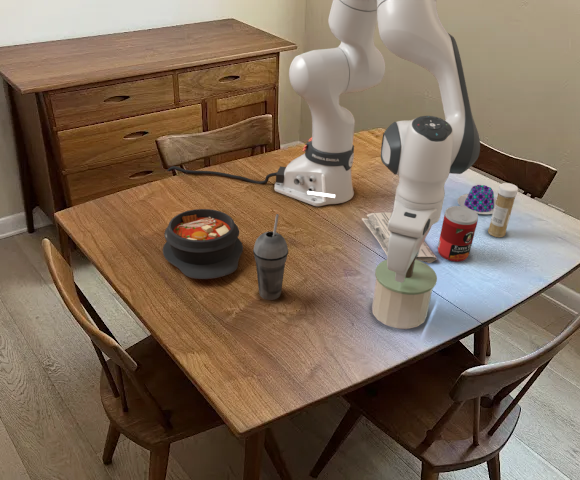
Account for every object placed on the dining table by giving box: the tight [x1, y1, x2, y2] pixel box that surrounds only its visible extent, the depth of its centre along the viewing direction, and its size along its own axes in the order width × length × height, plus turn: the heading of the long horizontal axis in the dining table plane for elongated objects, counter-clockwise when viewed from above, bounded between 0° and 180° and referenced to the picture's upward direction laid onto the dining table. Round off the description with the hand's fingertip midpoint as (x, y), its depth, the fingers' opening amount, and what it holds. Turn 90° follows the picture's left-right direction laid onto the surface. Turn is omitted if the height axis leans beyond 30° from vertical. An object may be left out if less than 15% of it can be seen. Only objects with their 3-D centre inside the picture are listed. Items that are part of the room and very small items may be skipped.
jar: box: [371, 278, 434, 330], centre depth 126 cm, size 11×11×10 cm
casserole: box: [162, 208, 244, 280], centre depth 140 cm, size 25×19×8 cm
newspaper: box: [361, 211, 438, 264], centre depth 151 cm, size 23×12×2 cm, turn 14°
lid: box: [374, 258, 438, 295], centre depth 122 cm, size 12×12×5 cm
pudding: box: [457, 184, 497, 215], centre depth 167 cm, size 12×12×5 cm
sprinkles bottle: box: [487, 182, 519, 238], centre depth 153 cm, size 5×5×14 cm
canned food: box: [437, 205, 479, 263], centre depth 145 cm, size 8×8×11 cm
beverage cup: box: [252, 213, 289, 301], centre depth 125 cm, size 7×7×20 cm
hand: (406, 267), depth 121 cm, fingers open, 8 cm apart
